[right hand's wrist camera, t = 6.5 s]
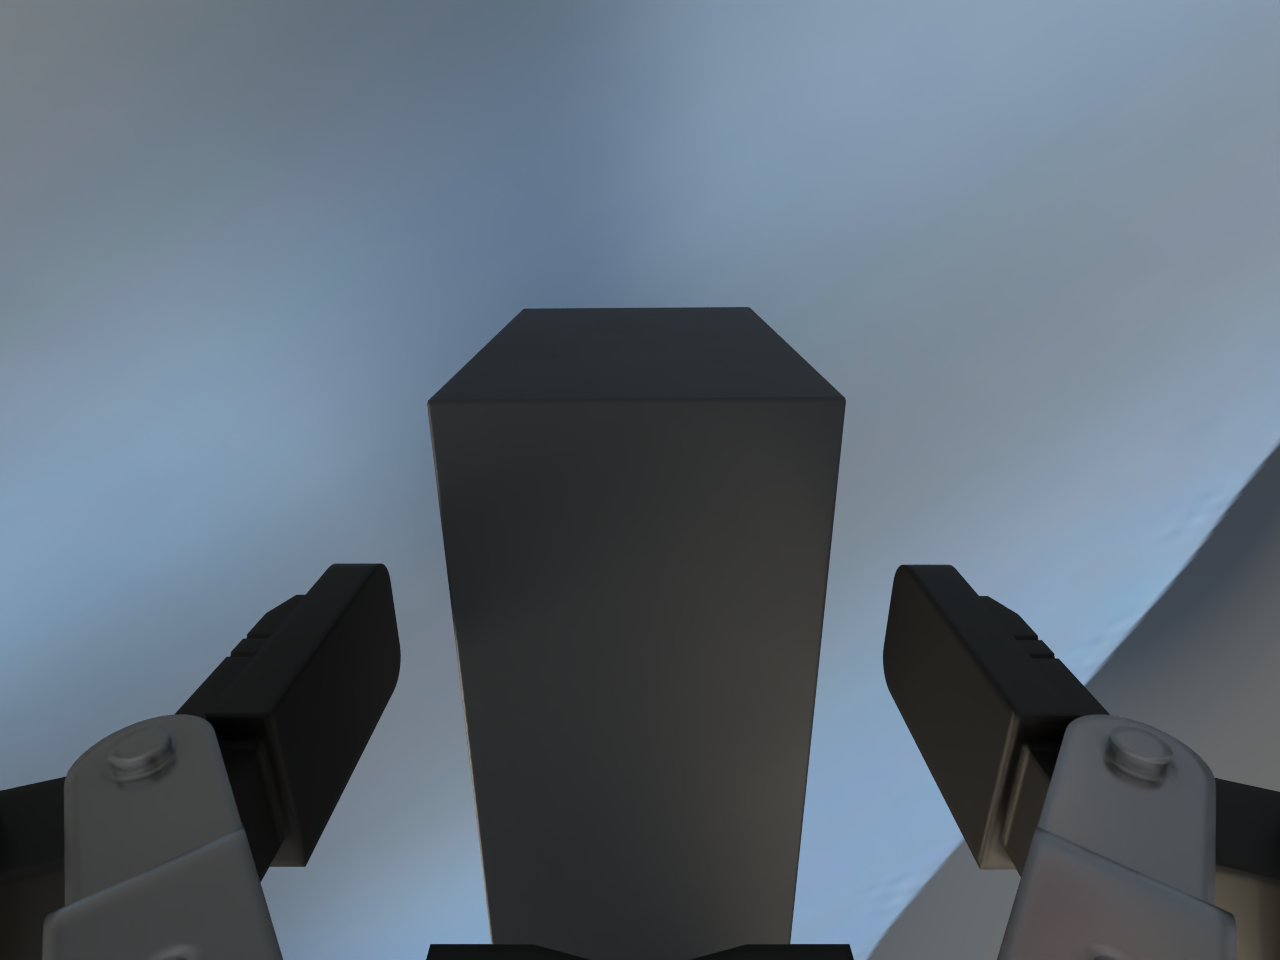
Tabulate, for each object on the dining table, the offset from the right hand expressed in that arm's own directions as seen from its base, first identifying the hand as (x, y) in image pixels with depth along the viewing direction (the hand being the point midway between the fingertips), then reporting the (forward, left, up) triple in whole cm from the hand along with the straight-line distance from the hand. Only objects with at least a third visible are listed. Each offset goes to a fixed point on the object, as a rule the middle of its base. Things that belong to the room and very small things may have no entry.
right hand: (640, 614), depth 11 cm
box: (+7, 0, -9) cm, 12 cm away
